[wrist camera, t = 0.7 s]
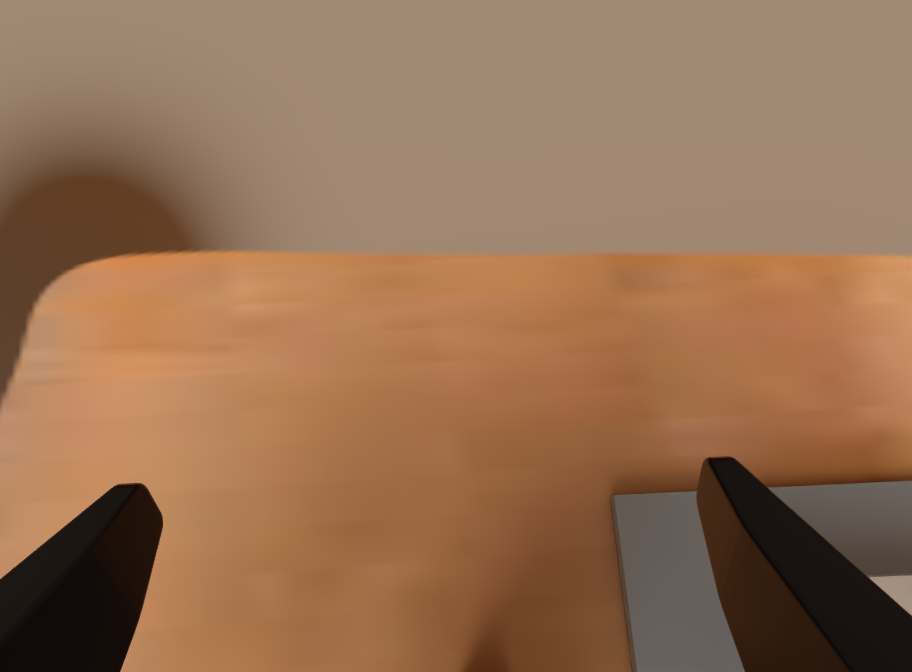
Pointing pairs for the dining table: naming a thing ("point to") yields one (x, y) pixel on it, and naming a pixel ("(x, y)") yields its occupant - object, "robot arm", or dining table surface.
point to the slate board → (691, 577)
